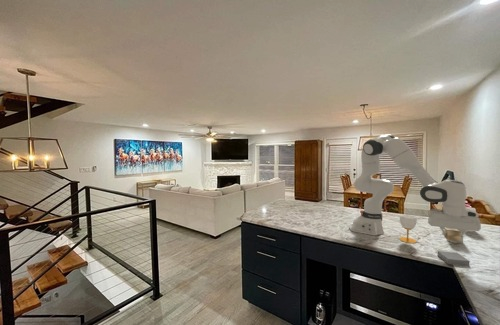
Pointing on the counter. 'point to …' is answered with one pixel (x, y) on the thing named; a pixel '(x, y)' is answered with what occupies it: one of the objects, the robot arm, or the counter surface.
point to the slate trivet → (453, 258)
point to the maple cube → (453, 234)
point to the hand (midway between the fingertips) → (452, 236)
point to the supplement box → (456, 241)
